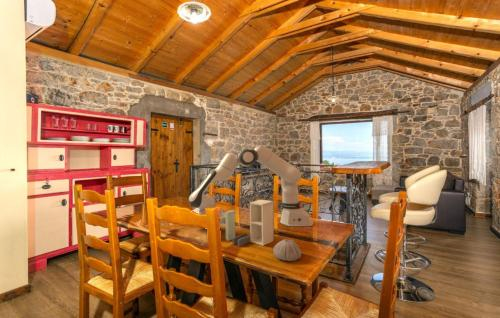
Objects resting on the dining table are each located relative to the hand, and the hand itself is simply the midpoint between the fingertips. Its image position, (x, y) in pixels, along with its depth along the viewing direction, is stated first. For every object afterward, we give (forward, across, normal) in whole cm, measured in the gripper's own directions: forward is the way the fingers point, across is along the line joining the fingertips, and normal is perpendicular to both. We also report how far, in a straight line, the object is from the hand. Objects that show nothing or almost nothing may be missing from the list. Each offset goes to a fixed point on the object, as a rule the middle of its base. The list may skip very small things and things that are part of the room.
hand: (225, 222), depth 147 cm
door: (+4, 0, +9) cm, 9 cm away
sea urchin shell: (+42, 0, +9) cm, 43 cm away
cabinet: (+17, +4, +9) cm, 20 cm away
